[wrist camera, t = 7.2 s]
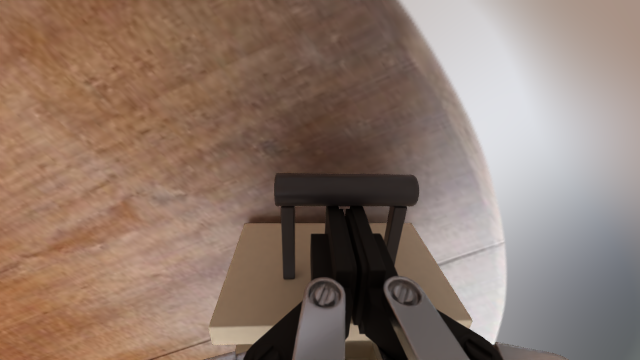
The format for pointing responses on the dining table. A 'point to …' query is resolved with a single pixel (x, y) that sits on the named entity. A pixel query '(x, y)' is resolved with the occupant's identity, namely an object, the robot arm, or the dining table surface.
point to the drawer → (294, 257)
